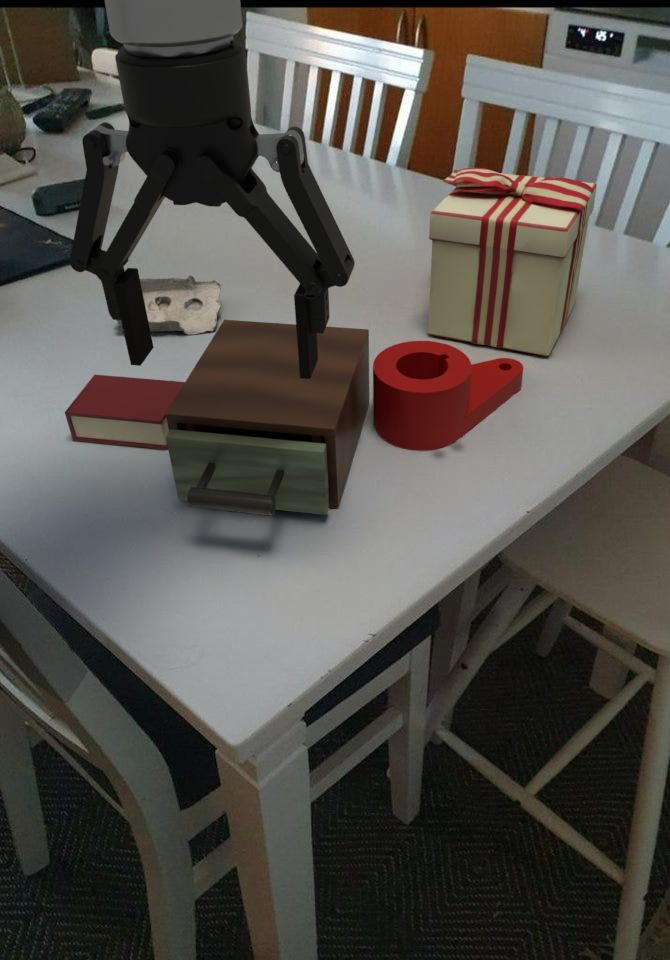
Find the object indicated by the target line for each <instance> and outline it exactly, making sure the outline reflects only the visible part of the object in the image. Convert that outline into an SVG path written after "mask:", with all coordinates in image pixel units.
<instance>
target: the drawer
mask: <svg viewBox="0 0 670 960" xmlns="http://www.w3.org/2000/svg"><path fill="white" fill-rule="evenodd" d="M186 428H187V431H184V430H173V429H170V431H169V433H168V434H167V436H166V441H167V446H168V449H167V450H168V456H169V460H170V466H171V471H172V474H173V479H174V485H175V489H176V493H177V498H178V500H185V501H187V505H188V506H189V507H192V508H200V509H202V508H203V509H209V510H211V509H212V510H220V511H227V512H228V511H230V512H238V513H247V514H256V515H264V516H274V514H275V511H276V510H278V511H288V512H295V513H305V514H313V515H322V516H327V515H328V513H329V509H330V508H329V489H328V469H327V450H326V444H325V437H324V436H313V435H302V434H291V433H280V432H270V431H259V430H248V429H237V428H226V427H215V426H205V425H194V424H186Z"/></svg>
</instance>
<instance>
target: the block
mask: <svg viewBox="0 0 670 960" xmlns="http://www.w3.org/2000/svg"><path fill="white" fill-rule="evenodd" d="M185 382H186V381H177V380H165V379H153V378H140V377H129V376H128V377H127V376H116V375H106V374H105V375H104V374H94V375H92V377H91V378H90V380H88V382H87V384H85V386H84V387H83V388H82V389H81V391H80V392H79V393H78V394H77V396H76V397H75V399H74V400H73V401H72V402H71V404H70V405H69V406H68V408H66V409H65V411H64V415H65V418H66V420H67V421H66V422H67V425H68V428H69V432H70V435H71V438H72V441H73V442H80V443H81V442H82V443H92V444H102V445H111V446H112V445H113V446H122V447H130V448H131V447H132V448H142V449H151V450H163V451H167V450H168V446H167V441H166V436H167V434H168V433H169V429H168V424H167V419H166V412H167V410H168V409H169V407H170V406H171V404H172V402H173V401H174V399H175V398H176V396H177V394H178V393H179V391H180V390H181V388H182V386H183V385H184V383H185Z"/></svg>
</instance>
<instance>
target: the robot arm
mask: <svg viewBox="0 0 670 960" xmlns="http://www.w3.org/2000/svg"><path fill="white" fill-rule="evenodd" d="M104 6H105V11H106V17H107V23H108V24H107V25H108V29H109V35H110V36H111V37H112V38H113V39H114V40H115V41H116V42H118V43H119V44H120V43H121V44H123V45H122V46H120V47H119V48H118V50H117V53H116V55H115V56H114V58H115V59H114V60H115V63H116V64H115V65H116V70H117V75H118V79H119V85H120V90H121V96H122V97H121V98H122V101H123V106H124V107H123V108H124V111H125V114H126V116H127V118H128V130H122V129H116V128H115V127H114V125H112V124H111V123H109V122H106V121H104V122H101V123H100V124H99V125H97V126H95V127H93V129H92V130H89V132H88V133H86V134H85V135H84V136H83V137H82V139H81V140H82V149H83V154H84V161H85V167H86V168H85V169H86V171H85V178H84V182H83V187H82V193H81V198H80V203H79V209H78V214H77V220H76V226H75V231H74V236H73V241H72V246H71V252H70V257H69V266H70V267H71V268H72V269H73V270H74V271H75V272H77V273H83V272H85V271H86V272H87V273H91V274H93V275H95V276H96V277H97V278H98V279H99V280H100V283H101V285H102V290H103V293H104V297H105V303H106V306H107V310H108V315H109V316H110V317H111V319H112V320H114V321H117V320H121V323H122V327H123V330H122V331H123V335H124V341H125V345H126V348H127V349H126V350H127V354H128V358H129V362H130V366H137V367H138V366H139V367H140V366H142V364H143V363H144V362H145V360H146V359H147V357H148V356H149V355H150V353H151V352H152V351H153V349H154V343H153V337H152V332H150V327H149V322H148V317H147V312H146V307H145V302H144V298H143V293H142V288H141V283H140V279H141V278H140V273H139V269H138V267H127V268H126V269H125V266H126V265H127V263H128V262H130V257H131V255H133V252H134V251H135V249H136V247H137V246H138V244H139V242H140V240H141V238H143V236H144V234H145V232H146V230H147V229H148V227H149V225H150V223H151V222H152V220H153V219H154V216H155V214H156V213H157V212H158V210H159V208H160V207H161V205H162V203H163V202H164V200H165V199H167V200H169V201H171V202H172V203H173V205H174V206H187V205H188V206H189V205H192V204H198V205H199V204H200V205H203V206H206V207H216V208H217V207H218V208H219V207H221V206H222V205H223V204H225V203H226V204H227V205H228V206H229V207H230V209H232V210H233V212H234V213H235V214H236V215H237V216H239V217H241V218H243V219H245V220H246V221H247V223H248V224H249V225H250V226H251V227H252V228H253V230H254V231H255V233H256V234H258V236H259V237H260V238H261V239H262V240H263V242H264V243H265V244H266V245H267V246H268V247H269V249H270V250H271V251H272V252H273V254H274V255H275V256H276V257H277V258H278V259H279V260H280V262H281V263H282V264H283V266H285V268H287V270H288V272H290V274H292V276H293V277H294V278H295V279H296V281H297V282H298V283H299V285H298V287H297V289H296V291H295V292H294V295H293V299H294V313H295V316H294V317H295V324H296V330H297V343H298V357H299V371H300V378H304V379H310V378H311V376H312V373H313V371H314V368H315V366H316V363H317V361H318V349H317V333H322V334H323V333H324V330H325V328H326V327H327V325H328V323H329V320H330V294H329V293H330V291H329V288H330V289H331V288H333V287H339V288H342V287H344V286H346V285H347V284H348V283H349V280H350V277H351V275H352V273H353V271H354V268H355V266H356V265H355V264H356V262H355V259H354V257H353V254H352V253H351V251H350V248H349V245H348V244H347V242H346V240H345V238H344V236H343V234H342V231H341V229H340V227H339V225H338V223H337V221H336V219H335V217H334V215H333V213H332V211H331V209H330V206H329V204H328V203H327V201H326V200H327V199H326V198H325V196H324V193H323V192H322V189H321V187H320V185H319V184H318V183H319V182H318V181H317V179H316V177H315V175H314V173H313V171H312V169H311V167H310V165H309V160H308V152H307V144H306V136H305V132H304V131H303V129H302V128H300V127H298V126H290V127H289V128H288V129H287V130H286V131H285V132H279V133H278V132H277V133H262V134H261V133H259V131H258V130H257V128H256V125H255V123H254V121H253V118H252V106H251V105H252V104H251V95H250V83H249V73H248V65H247V63H248V62H247V54H246V53H247V52H246V46H245V45H244V44H243V43H242V41H241V40H240V39H239V38H237V37H235V35H237V34H238V33H239V31H241V29H242V28H243V18H242V17H243V16H242V5H241V0H104ZM127 153H128V155H129V157H131V159H132V160H133V162H135V164H136V165H137V166H138V168H139V169H140V170H141V171H142V172H143V173H144V174H145V176H146V178H145V180H144V181H143V183H142V185H141V187H140V189H139V190H138V192H137V194H136V196H135V197H134V199H133V203H132V206H131V207H130V209H129V211H128V212H127V214H126V216H125V217H124V220H122V223H121V225H120V227H119V228H118V230H117V232H116V233H115V235H114V237H113V239H112V240H111V242H110V244H109V246H108V247H107V250H104V249H102V247H103V243H104V239H105V233H106V230H107V226H108V219H109V215H110V210H111V207H112V203H113V202H112V201H113V197H114V193H115V192H114V191H115V188H116V184H117V179H118V173H119V168H120V164H121V163H122V162H124V161H125V159H126V154H127ZM259 157H263V158H265V160H266V161H267V162H268V164H269V166H270V168H271V170H272V171H274V172H275V173H279V175H280V179H281V183H282V185H283V188H284V190H285V192H286V194H287V196H288V198H289V200H290V202H291V204H292V206H293V208H294V210H295V212H296V214H297V216H298V218H299V220H300V222H301V224H302V226H303V228H304V230H305V232H306V234H307V236H308V238H309V240H310V243H311V244H312V246H313V247H312V246H311V244H310V243H309V241H308V240H307V239H306V237H304V236H303V234H302V233H301V231H299V229H298V228H297V227H296V226H295V225H294V224H293V222H292V221H291V220H290V219H289V217H288V216H287V215H286V214H285V213H284V211H283V210H282V209H281V208H280V207H279V205H278V204H277V203H276V202H275V200H274V199H273V198H272V196H271V195H270V194H269V193H268V190H267V187H266V185H265V183H264V182H263V180H262V179H261V178H260V177H259V176H258V174H257V173H256V172H255V171H254V169H253V166H254V165H255V163H256V161H257V160H258V158H259Z"/></svg>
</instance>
